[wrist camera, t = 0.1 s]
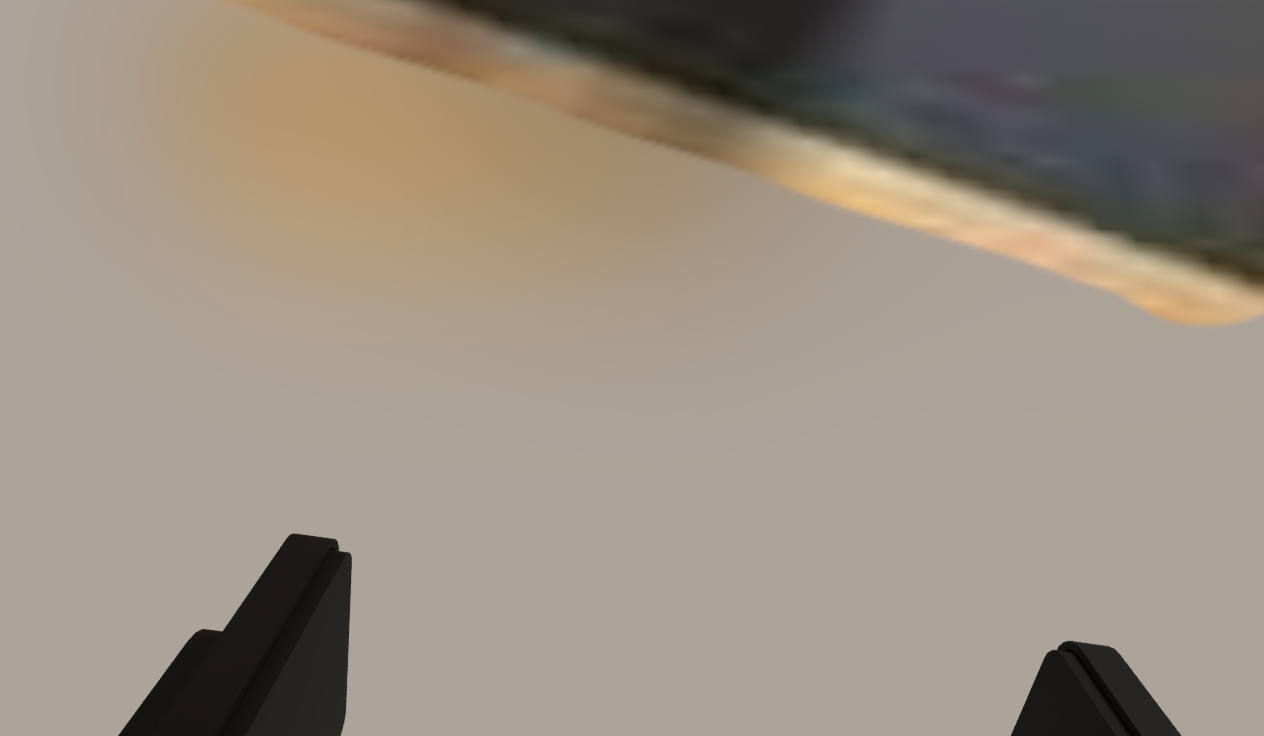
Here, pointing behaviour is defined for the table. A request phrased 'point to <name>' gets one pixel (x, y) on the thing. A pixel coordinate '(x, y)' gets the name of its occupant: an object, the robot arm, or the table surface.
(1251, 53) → the table surface
